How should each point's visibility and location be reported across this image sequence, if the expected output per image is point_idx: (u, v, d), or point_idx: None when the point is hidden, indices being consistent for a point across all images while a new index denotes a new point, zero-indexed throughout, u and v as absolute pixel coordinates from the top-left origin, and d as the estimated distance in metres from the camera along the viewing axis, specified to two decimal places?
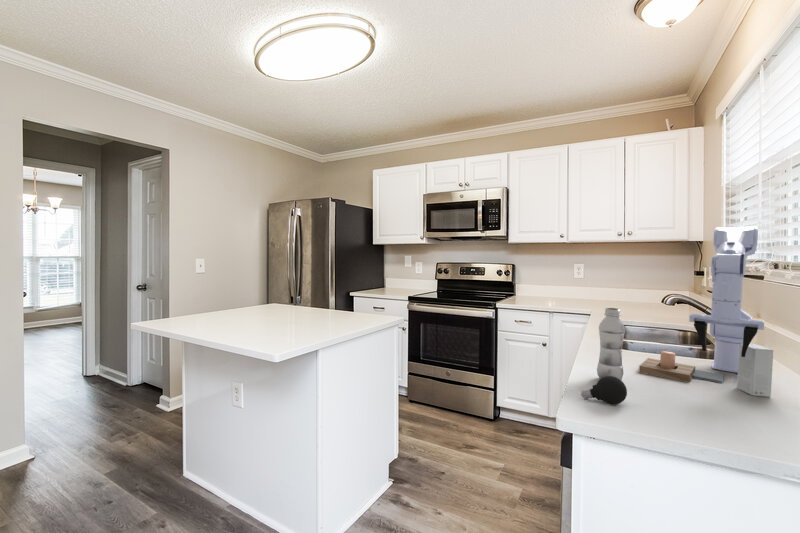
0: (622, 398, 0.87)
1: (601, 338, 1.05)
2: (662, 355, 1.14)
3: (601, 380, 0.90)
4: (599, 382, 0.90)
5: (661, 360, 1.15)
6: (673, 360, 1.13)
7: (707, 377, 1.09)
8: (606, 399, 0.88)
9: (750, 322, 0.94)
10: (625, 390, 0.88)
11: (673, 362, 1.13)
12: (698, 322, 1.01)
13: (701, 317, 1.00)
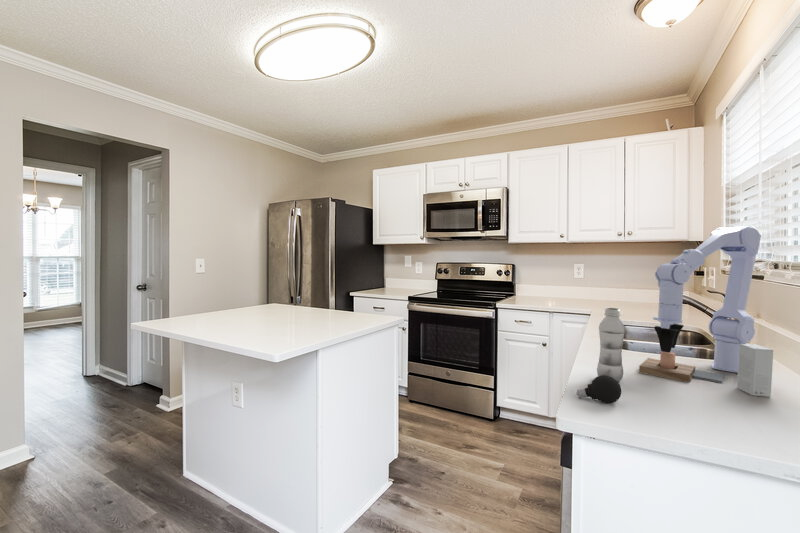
0: (616, 397, 0.88)
1: (601, 338, 1.05)
2: (662, 355, 1.14)
3: (596, 380, 0.90)
4: (594, 381, 0.91)
5: (661, 360, 1.15)
6: (673, 360, 1.13)
7: (707, 377, 1.09)
8: (601, 398, 0.89)
9: (660, 321, 1.11)
10: (619, 389, 0.88)
11: (673, 362, 1.13)
12: None
13: None
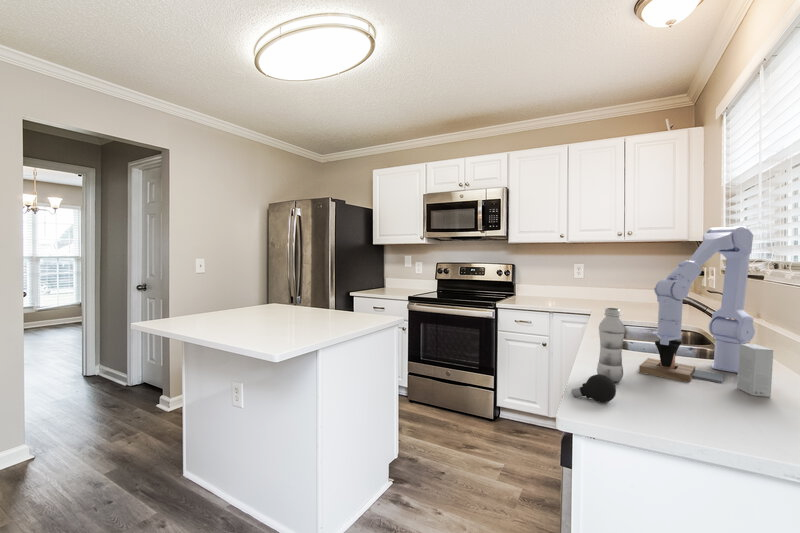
0: (611, 396, 0.88)
1: (601, 338, 1.05)
2: None
3: (591, 379, 0.91)
4: (589, 380, 0.91)
5: None
6: (673, 360, 1.13)
7: (707, 377, 1.09)
8: (595, 397, 0.89)
9: (659, 337, 1.12)
10: (614, 388, 0.89)
11: (673, 362, 1.13)
12: None
13: None
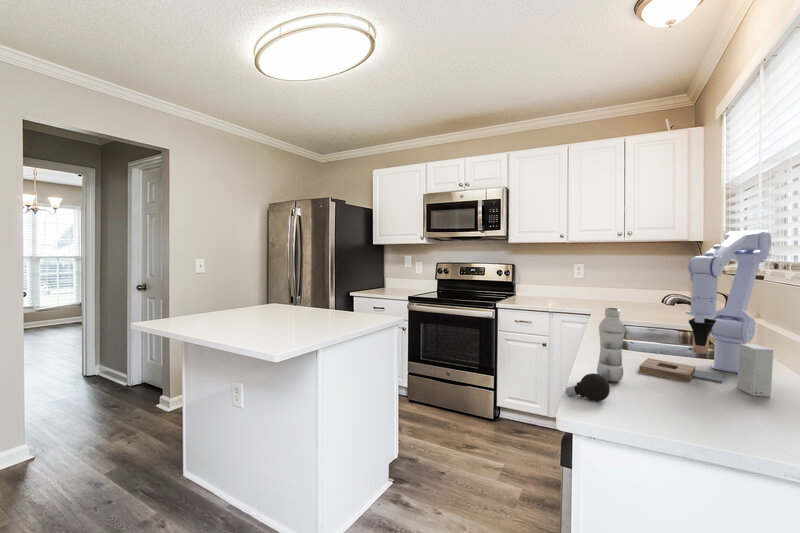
0: (605, 395, 0.89)
1: (601, 338, 1.05)
2: None
3: (585, 378, 0.92)
4: (583, 379, 0.92)
5: None
6: (707, 339, 1.10)
7: (707, 377, 1.09)
8: (589, 396, 0.90)
9: (694, 315, 1.09)
10: (608, 387, 0.89)
11: (707, 341, 1.10)
12: None
13: None
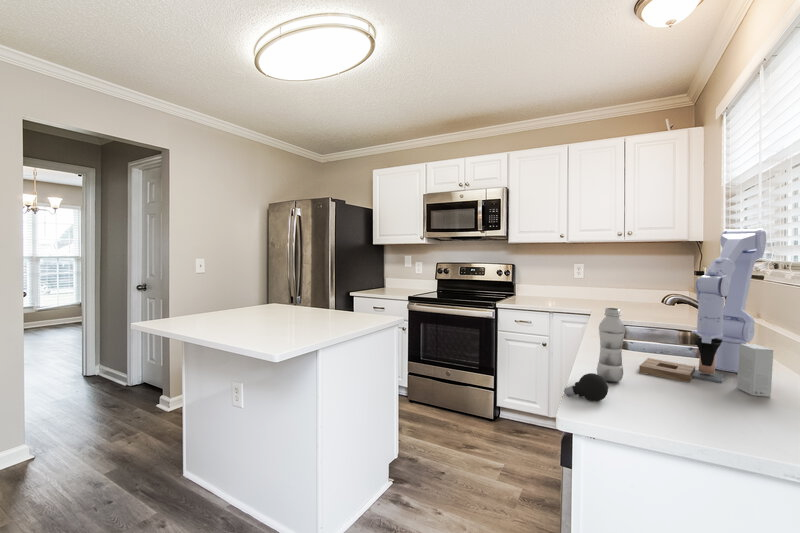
0: (603, 395, 0.89)
1: (601, 338, 1.05)
2: None
3: (583, 378, 0.92)
4: (581, 379, 0.92)
5: None
6: (714, 359, 1.09)
7: (707, 377, 1.09)
8: (588, 396, 0.90)
9: (700, 335, 1.08)
10: (606, 387, 0.89)
11: (714, 361, 1.09)
12: None
13: None
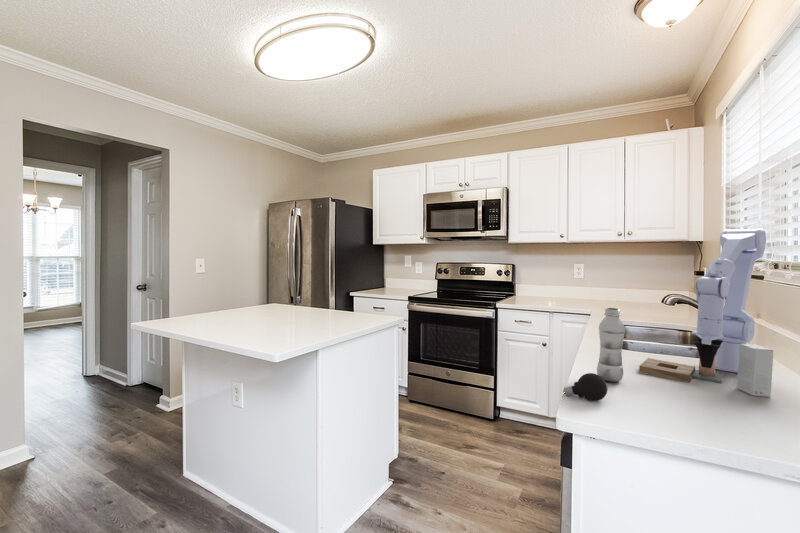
0: (602, 395, 0.89)
1: (601, 338, 1.05)
2: None
3: (582, 378, 0.92)
4: (580, 379, 0.92)
5: None
6: (714, 362, 1.09)
7: (707, 377, 1.09)
8: (587, 396, 0.90)
9: (700, 336, 1.08)
10: (605, 387, 0.89)
11: (714, 364, 1.10)
12: None
13: None
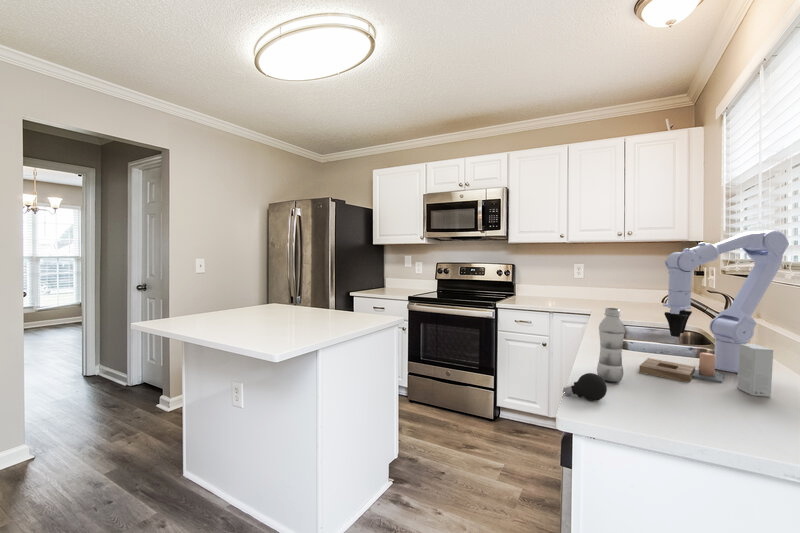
0: (602, 395, 0.89)
1: (601, 338, 1.05)
2: (702, 357, 1.11)
3: (582, 377, 0.92)
4: (580, 379, 0.92)
5: (701, 362, 1.11)
6: (714, 362, 1.09)
7: (707, 377, 1.09)
8: (586, 396, 0.90)
9: (670, 307, 1.16)
10: (605, 387, 0.89)
11: (714, 364, 1.10)
12: None
13: None
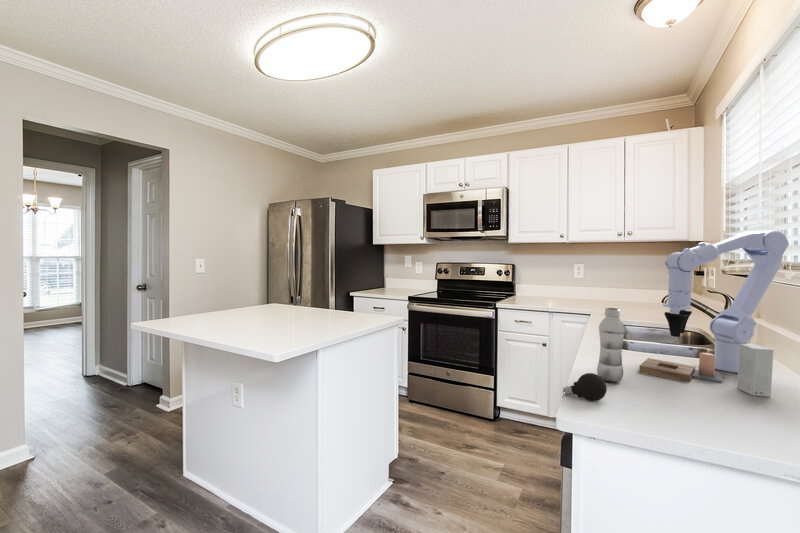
0: (601, 395, 0.89)
1: (601, 338, 1.05)
2: (702, 357, 1.11)
3: (582, 378, 0.92)
4: (580, 379, 0.92)
5: (701, 362, 1.11)
6: (714, 362, 1.09)
7: (707, 377, 1.09)
8: (586, 396, 0.90)
9: (670, 307, 1.16)
10: (604, 387, 0.89)
11: (714, 364, 1.10)
12: None
13: None
